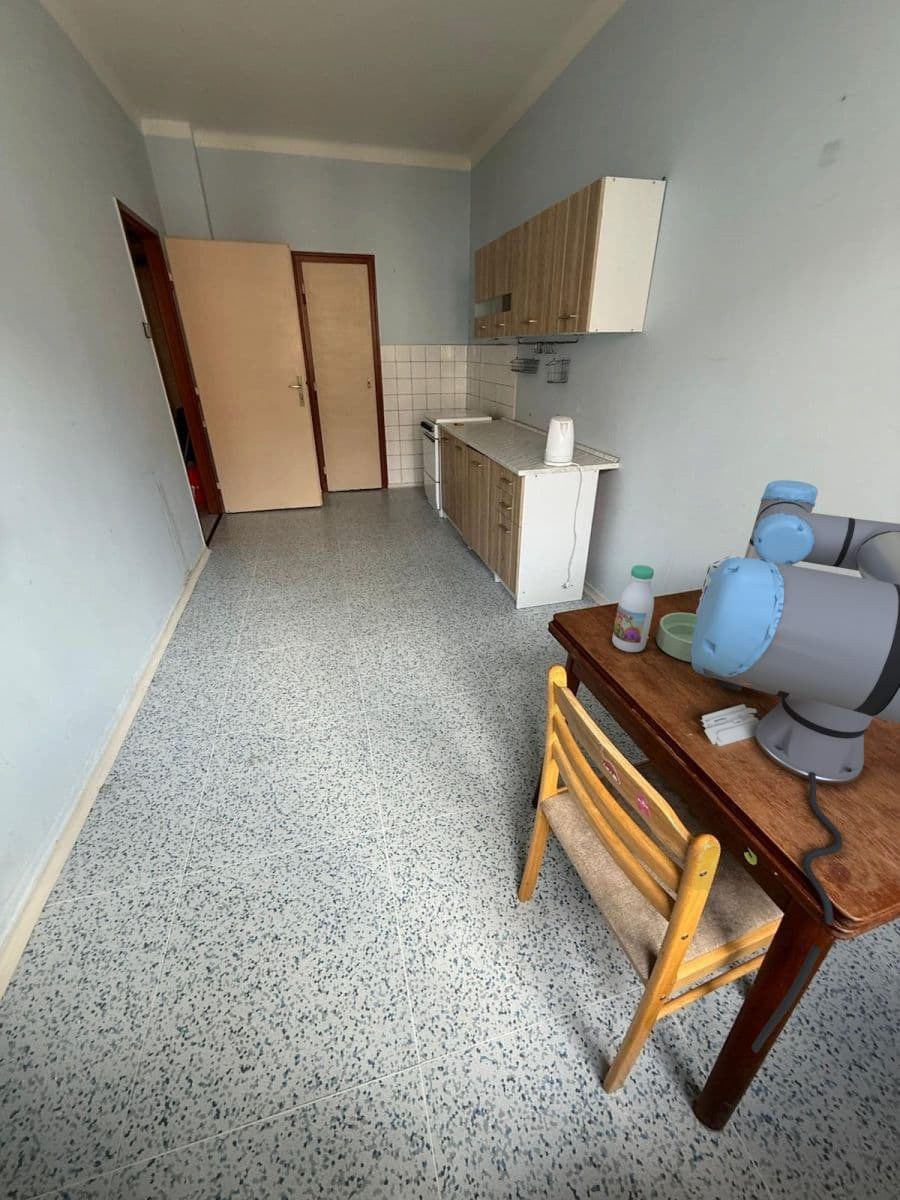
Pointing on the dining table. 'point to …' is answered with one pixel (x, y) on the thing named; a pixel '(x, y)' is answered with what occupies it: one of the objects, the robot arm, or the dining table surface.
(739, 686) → the brush
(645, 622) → the milk bottle
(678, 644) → the bowl
